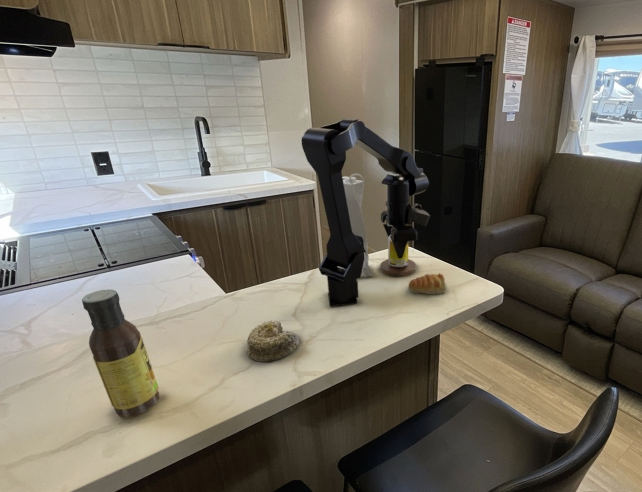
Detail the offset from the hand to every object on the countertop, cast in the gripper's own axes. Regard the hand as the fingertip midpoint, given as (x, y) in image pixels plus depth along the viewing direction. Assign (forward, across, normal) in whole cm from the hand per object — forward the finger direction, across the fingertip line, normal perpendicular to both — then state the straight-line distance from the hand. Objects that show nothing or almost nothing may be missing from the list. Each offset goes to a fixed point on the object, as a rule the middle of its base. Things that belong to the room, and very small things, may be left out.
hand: (398, 254), depth 111 cm
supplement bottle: (+3, 0, 0) cm, 3 cm away
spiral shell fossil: (+5, -30, +32) cm, 44 cm away
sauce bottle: (+5, -41, +52) cm, 66 cm away
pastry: (+5, -14, -5) cm, 16 cm away
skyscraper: (+5, -1, +12) cm, 13 cm away
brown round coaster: (+4, 0, 0) cm, 5 cm away
